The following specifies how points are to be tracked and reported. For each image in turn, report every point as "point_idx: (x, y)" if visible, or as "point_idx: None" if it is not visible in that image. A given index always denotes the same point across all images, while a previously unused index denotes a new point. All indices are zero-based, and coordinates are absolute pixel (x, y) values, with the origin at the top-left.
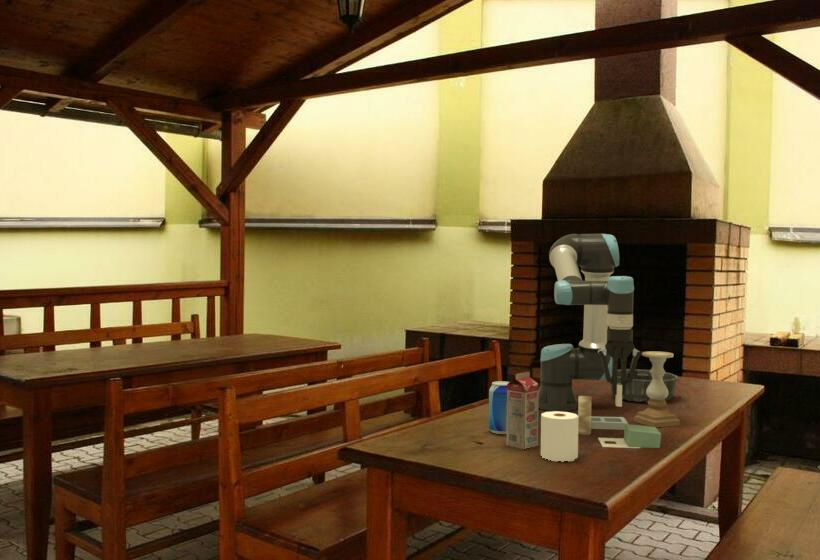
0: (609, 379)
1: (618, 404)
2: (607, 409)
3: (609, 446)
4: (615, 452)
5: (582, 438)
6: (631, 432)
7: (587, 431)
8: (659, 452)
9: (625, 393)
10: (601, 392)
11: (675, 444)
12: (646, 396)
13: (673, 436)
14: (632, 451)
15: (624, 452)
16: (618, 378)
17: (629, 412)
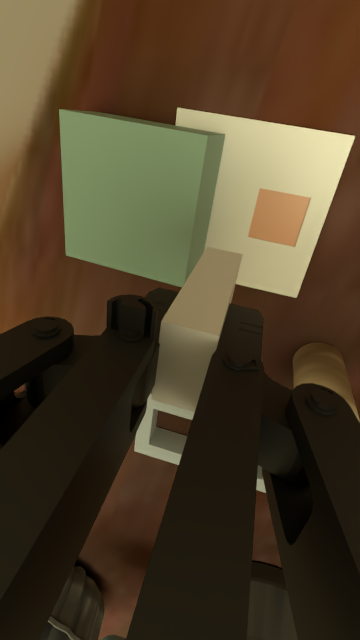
0: (318, 409)
1: (229, 255)
2: (142, 542)
3: (316, 141)
4: (327, 38)
5: (357, 312)
6: (200, 134)
7: (318, 351)
8: (112, 46)
9: (150, 293)
10: (120, 619)
11: (32, 192)
12: None
13: (27, 296)
14: (230, 65)
15: (278, 40)
16: (78, 636)
17: (99, 512)
